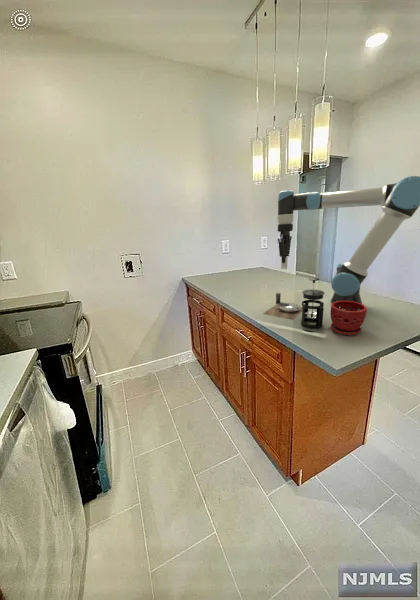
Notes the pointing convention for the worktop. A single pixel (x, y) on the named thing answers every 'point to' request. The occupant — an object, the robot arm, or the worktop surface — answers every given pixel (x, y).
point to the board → (278, 313)
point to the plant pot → (347, 317)
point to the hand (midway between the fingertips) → (284, 268)
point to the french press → (310, 315)
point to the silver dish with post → (287, 305)
